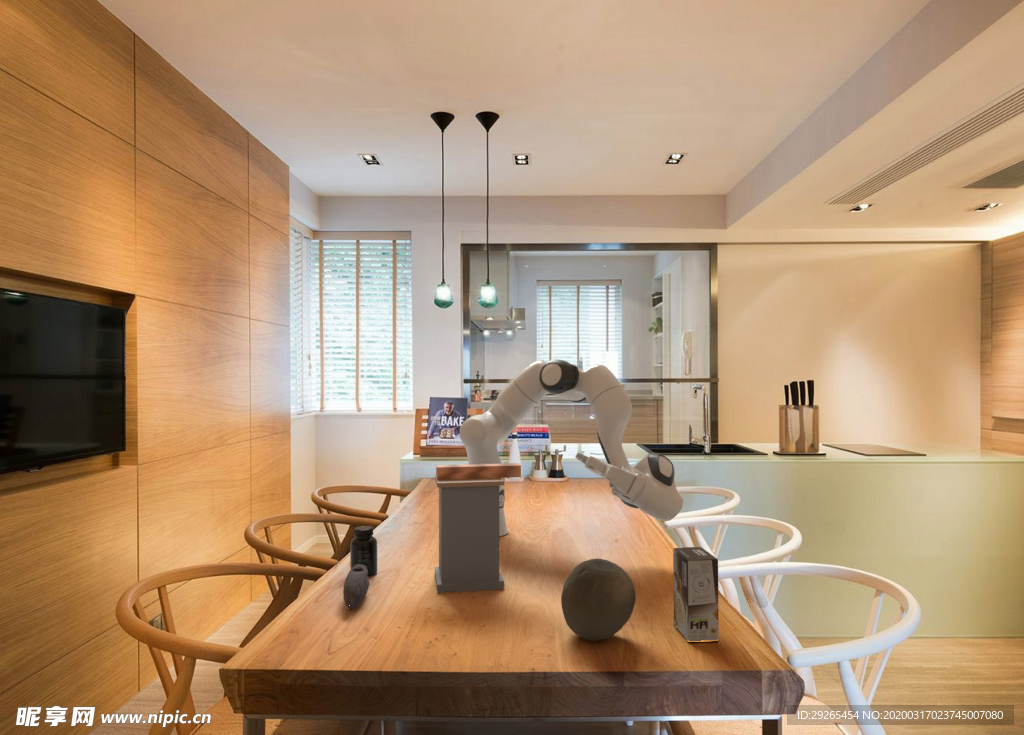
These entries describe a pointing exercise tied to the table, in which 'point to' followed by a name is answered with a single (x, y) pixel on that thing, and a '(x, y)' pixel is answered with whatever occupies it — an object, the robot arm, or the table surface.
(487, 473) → the bar
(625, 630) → the table surface
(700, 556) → the coffee box
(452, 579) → the stand
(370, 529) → the supplement bottle
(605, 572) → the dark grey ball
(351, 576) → the perforated stone tool
